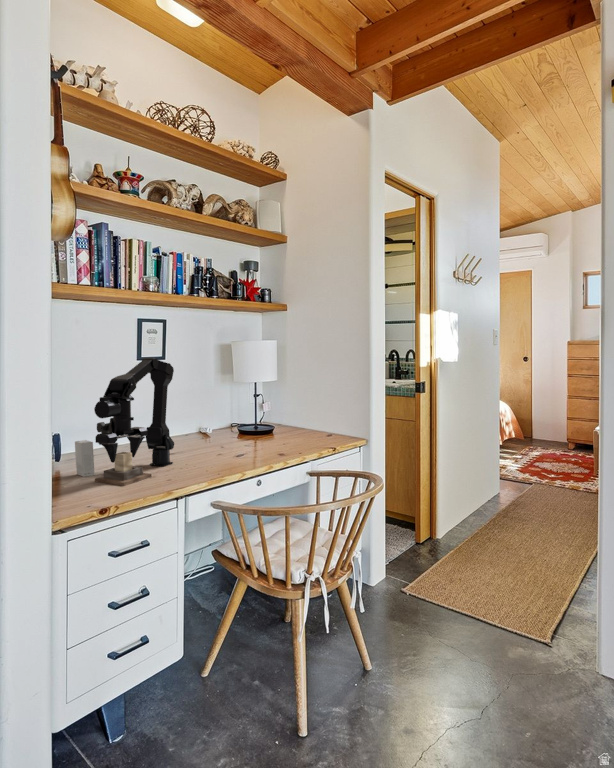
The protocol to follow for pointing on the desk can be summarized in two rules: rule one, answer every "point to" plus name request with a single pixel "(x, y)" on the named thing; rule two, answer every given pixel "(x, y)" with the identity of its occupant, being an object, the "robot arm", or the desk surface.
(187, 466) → the desk surface
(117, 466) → the maple peg
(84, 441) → the skincare box
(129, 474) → the socket holder
